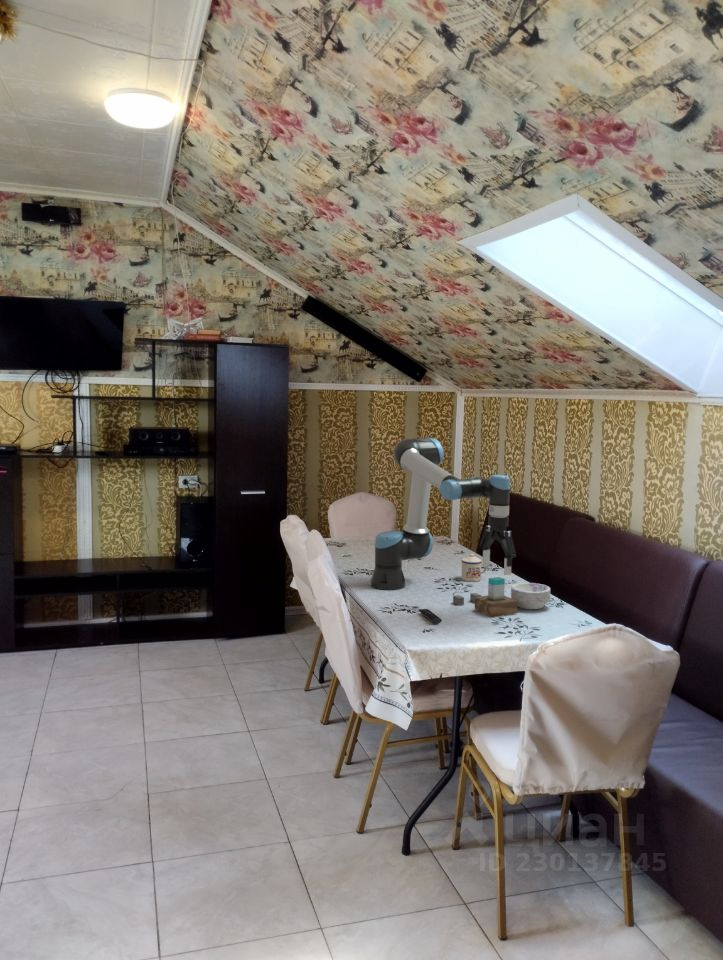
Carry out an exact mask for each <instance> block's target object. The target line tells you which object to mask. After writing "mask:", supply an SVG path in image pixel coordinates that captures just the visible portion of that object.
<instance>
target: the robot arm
mask: <svg viewBox="0 0 723 960" xmlns="http://www.w3.org/2000/svg"><path fill="white" fill-rule="evenodd" d="M444 455H445V453H444V447H443V446H442V444H441V442H440V441H439V440H437V439H436V438H434V437H432V438H431V437H421V438H420V437H418V438H415V437H414V438H404V439H402V440H399V442H397V444H396V445H394V448H393V459H394V462H395V463H396V464H397V465H398V466H399V467H400V468H402V469H403V470H405V471H411V472H412V474H411V482H410V483H411V484H410V491H409V500H408V511H407V520H406V524H405V525H404V526H403V527H402V531H400V530H386V531H382V532H380V533H378V534H377V535H376V536H375V540H374V542H375V543H374V569H373V573H372V575H371V579H370V586H371V587H372V588H374V587H375V588H374V589H377V588H379V589H378V590H385V589H389V591H390V590H391V591H393V589H394V590H399V589H400V588H401V589H403V587H404V588H405V587H406V579H405V576H404V572H403V568H402V565H403V561H408V560H418V559H422V558H426V557H428V556H429V555H430V554H431V552H432V550H433V547H434V539H433V536H432V534H431V533H430V530H429V528H428V527H427V524H428V513H429V505H430V497H431V487H432V486H434V487H435V488H437V489H438V490H439V493H440V495H441V496H442V498H443V499H444V500H448V501H451V500H452V501H455V500H462V499H463V500H464V499H475V498H476V499H477V498H485V499H488V500H489V501H488V505H489V506H488V507H489V508H488V515H489V516H488V521H487V522H488V525H485V526H484V531H483V534H482V536H481V538H480V539H481V540H480V542H479V544H478V547H479V548H481V550H482V563H483V565H482V568H485V567H487V568H488V567H490V563H491V562H490V560H491V557H490V556H491V549H490V548H491V546H492V545H493V543H494V542H495V540H496V541H498V543H499V544H500V545H501V548H502V550H503V552H504V555H505V557H504V562H503V563H504V567H503V575H504V576H507V575H508V576H510V575H511V574H512V566H513V559H514V558H517V552H516V548H515V545H514V544H515V543H514V540H513V533H512V530H508V531H507V528H508V527H509V516H510V496H511V495H510V494H511V478H510V476H508V475H505V474H492V475H490V478H486V477H482V476H471V477H469V478H458V477H457V476H454V475H453V474H451V473H450V472H448V471H446V470H445V469H443V468H442V467H440V466H439V465H440V464H441V463H443V461H444Z"/></svg>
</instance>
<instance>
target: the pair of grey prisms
mask: <svg viewBox="0 0 723 960" xmlns="http://www.w3.org/2000/svg"><path fill="white" fill-rule="evenodd" d="M469 596H470V598H469V601H470V602H472V603H474V602H475V597H480V596H482V595H481V594H480V593H477V592H471V593H470V595H469ZM452 604H454V605H457V606H458V605H459V606H464V604H465V597H464V596H462V595H459V594H454V595H453V596H452Z"/></svg>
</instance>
